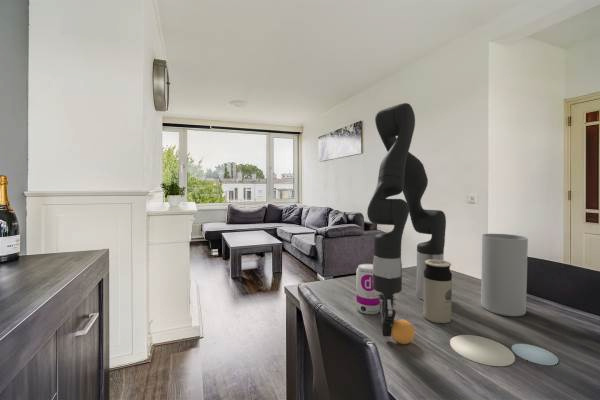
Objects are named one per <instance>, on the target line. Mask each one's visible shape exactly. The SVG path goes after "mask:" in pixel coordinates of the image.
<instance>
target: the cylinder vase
mask: <svg viewBox="0 0 600 400" xmlns="http://www.w3.org/2000/svg"><path fill="white" fill-rule="evenodd" d="M481 236H482V238H481V275H480V276H481V278H480V279H481V280H480V281H481V286H480V288H481V289H480V290H481V291H480V304H481V307H483V309H485V310H486V311H488V312H491V313H493V314H497V315H500V316H506V317H522V316H525V314H526V312H527V290H528V289H527V287H528V285H527V284H528V251H529V250H528V248H529V247H528V246H529V245H528V243H529V239H528V237H526V236H523V235H516V234H509V233H508V234H506V233H484V234H483V233H482V235H481Z"/></svg>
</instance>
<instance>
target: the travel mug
mask: <svg viewBox="0 0 600 400" xmlns="http://www.w3.org/2000/svg"><path fill="white" fill-rule="evenodd" d="M425 263H426V268H425V270H424V300H423V309H422V311H423V317H424V318H425V319H426V320H428V321H429V322H432V323H436V324H448V323H450V322H451V321H452V293H453V291H452V290H453V289H452V286H453V285H452V284H453V283H452V280H453V279H452V278H453V277H452V276H453V273H452V272H451V270H450V269H451V266H452V263H451V262H449V261H448V260H447V261H446V260H444V261H443V260H426V261H425Z"/></svg>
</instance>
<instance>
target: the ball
mask: <svg viewBox="0 0 600 400" xmlns="http://www.w3.org/2000/svg"><path fill="white" fill-rule="evenodd" d="M415 333H416V332H415V328H414V326H413V325H412V323H411V322H409V321H408V320H406V319H402V318H401V319H400V318H399V319H397V320H394V323H393V324H391V336H392V338H393V339H394V341H396V342H397V343H399V344H401V345H407V344H409V343H411V342H412V341H413V340H414V338H415Z"/></svg>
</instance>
